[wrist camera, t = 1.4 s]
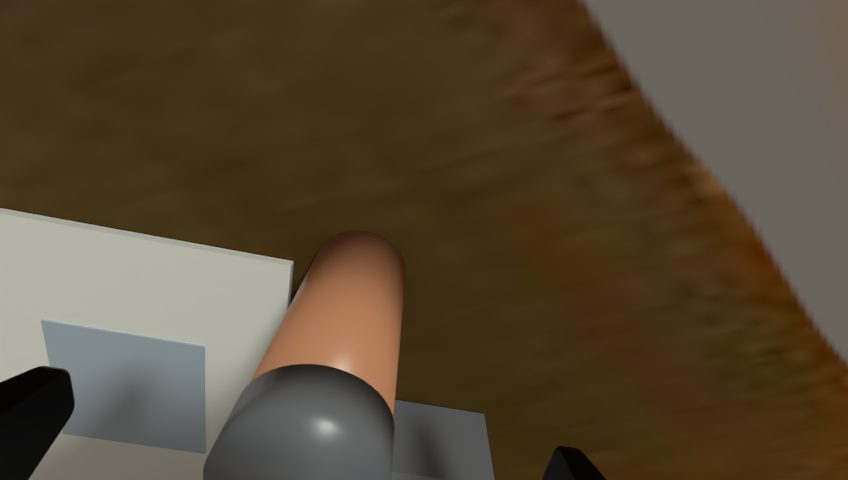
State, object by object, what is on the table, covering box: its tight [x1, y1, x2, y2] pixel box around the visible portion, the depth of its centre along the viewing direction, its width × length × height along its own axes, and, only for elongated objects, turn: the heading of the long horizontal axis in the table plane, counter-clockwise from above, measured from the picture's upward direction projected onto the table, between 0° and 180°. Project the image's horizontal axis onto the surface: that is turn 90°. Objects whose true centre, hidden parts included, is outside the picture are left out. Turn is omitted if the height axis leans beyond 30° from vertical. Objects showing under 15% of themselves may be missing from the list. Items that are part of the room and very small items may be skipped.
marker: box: [203, 231, 406, 480], centre depth 10 cm, size 3×3×7 cm
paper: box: [0, 208, 294, 480], centre depth 15 cm, size 10×12×1 cm
